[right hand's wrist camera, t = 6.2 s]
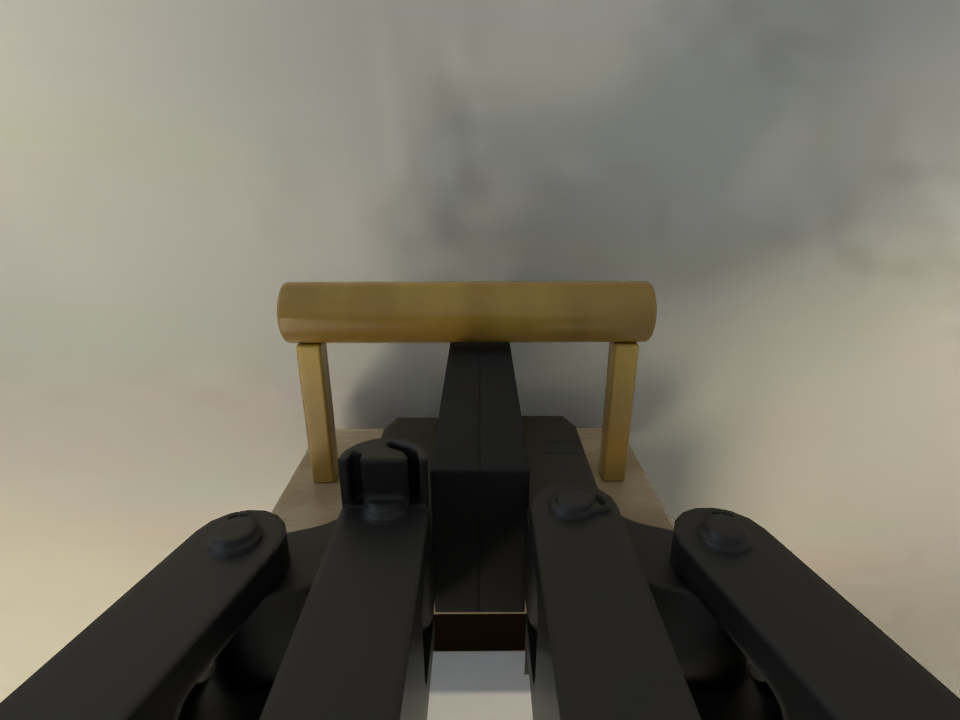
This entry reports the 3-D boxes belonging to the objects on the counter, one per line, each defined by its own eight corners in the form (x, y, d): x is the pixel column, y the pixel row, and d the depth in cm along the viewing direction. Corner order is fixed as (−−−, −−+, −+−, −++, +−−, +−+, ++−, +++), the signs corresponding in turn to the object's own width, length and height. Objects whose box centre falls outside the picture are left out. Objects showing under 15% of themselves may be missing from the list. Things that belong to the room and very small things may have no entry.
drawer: (300, 260, 16) (188, 326, 10) (636, 260, 16) (739, 324, 10) (363, 815, 24) (326, 1037, 18) (582, 813, 24) (618, 1033, 18)
